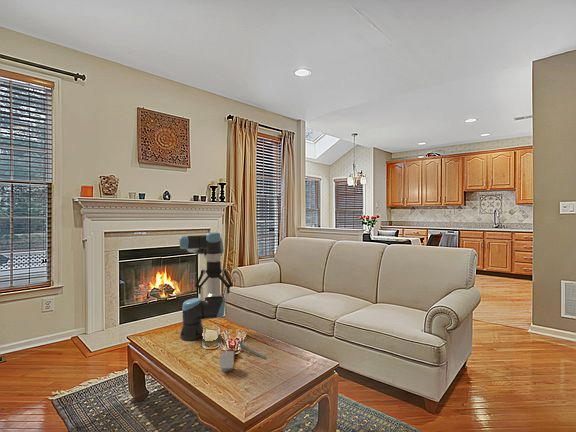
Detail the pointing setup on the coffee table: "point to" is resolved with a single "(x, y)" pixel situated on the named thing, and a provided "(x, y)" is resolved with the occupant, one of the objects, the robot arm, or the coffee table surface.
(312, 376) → the coffee table surface
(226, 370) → the ratchet
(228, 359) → the socket
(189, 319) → the robot arm
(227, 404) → the coffee table surface
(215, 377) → the coffee table surface
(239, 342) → the caliper
